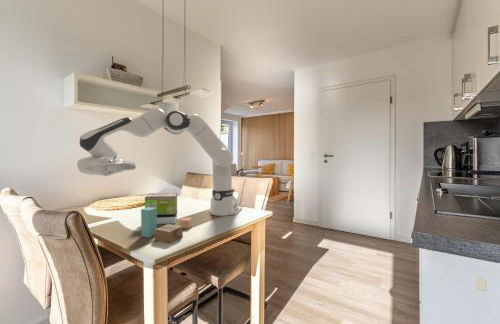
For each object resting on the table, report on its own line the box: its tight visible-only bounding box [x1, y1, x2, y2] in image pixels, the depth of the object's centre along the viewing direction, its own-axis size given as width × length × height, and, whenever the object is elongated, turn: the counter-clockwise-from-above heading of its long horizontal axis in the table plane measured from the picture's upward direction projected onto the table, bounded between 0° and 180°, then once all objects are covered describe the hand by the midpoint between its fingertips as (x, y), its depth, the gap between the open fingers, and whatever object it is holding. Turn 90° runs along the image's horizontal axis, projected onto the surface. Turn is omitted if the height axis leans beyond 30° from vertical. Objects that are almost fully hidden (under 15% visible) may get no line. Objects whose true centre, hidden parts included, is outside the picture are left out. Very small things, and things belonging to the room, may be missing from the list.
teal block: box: [140, 207, 158, 238], centre depth 109 cm, size 4×4×12 cm
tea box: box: [144, 192, 178, 225], centre depth 129 cm, size 15×10×15 cm, turn 101°
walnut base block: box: [154, 224, 184, 244], centre depth 105 cm, size 8×8×5 cm
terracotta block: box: [179, 217, 193, 229], centre depth 121 cm, size 4×4×4 cm
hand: (126, 167), depth 112 cm, fingers open, 8 cm apart
